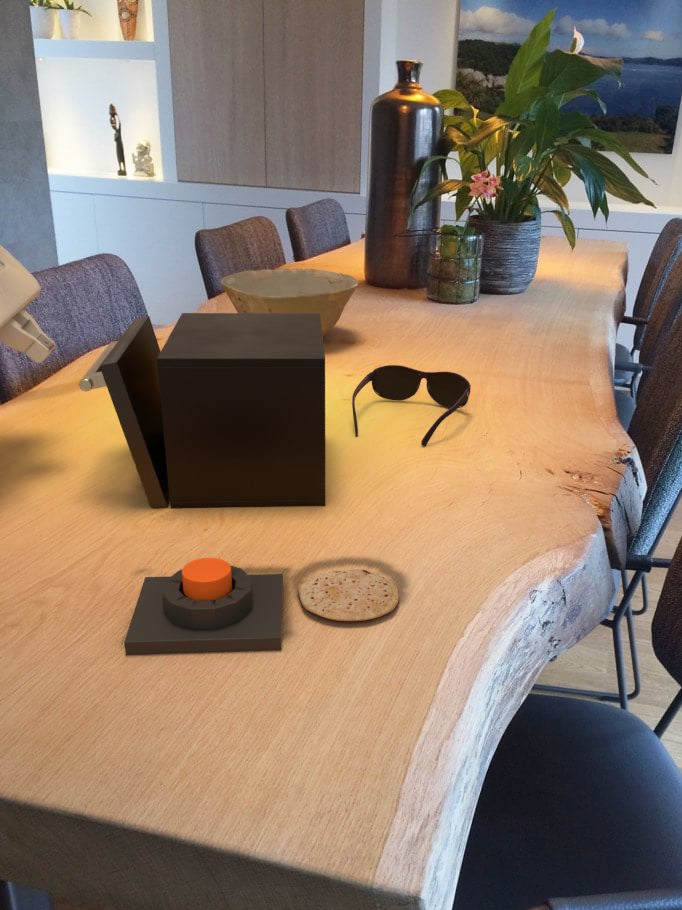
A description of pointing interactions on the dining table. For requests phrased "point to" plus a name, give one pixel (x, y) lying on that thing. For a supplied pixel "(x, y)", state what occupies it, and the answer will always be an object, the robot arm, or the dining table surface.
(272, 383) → the mini oven
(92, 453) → the dining table surface
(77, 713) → the dining table surface
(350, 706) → the dining table surface
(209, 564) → the button
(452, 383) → the sunglasses
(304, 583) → the flatbread
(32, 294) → the robot arm
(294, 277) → the ceramic bowl
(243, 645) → the block
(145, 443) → the oven door
